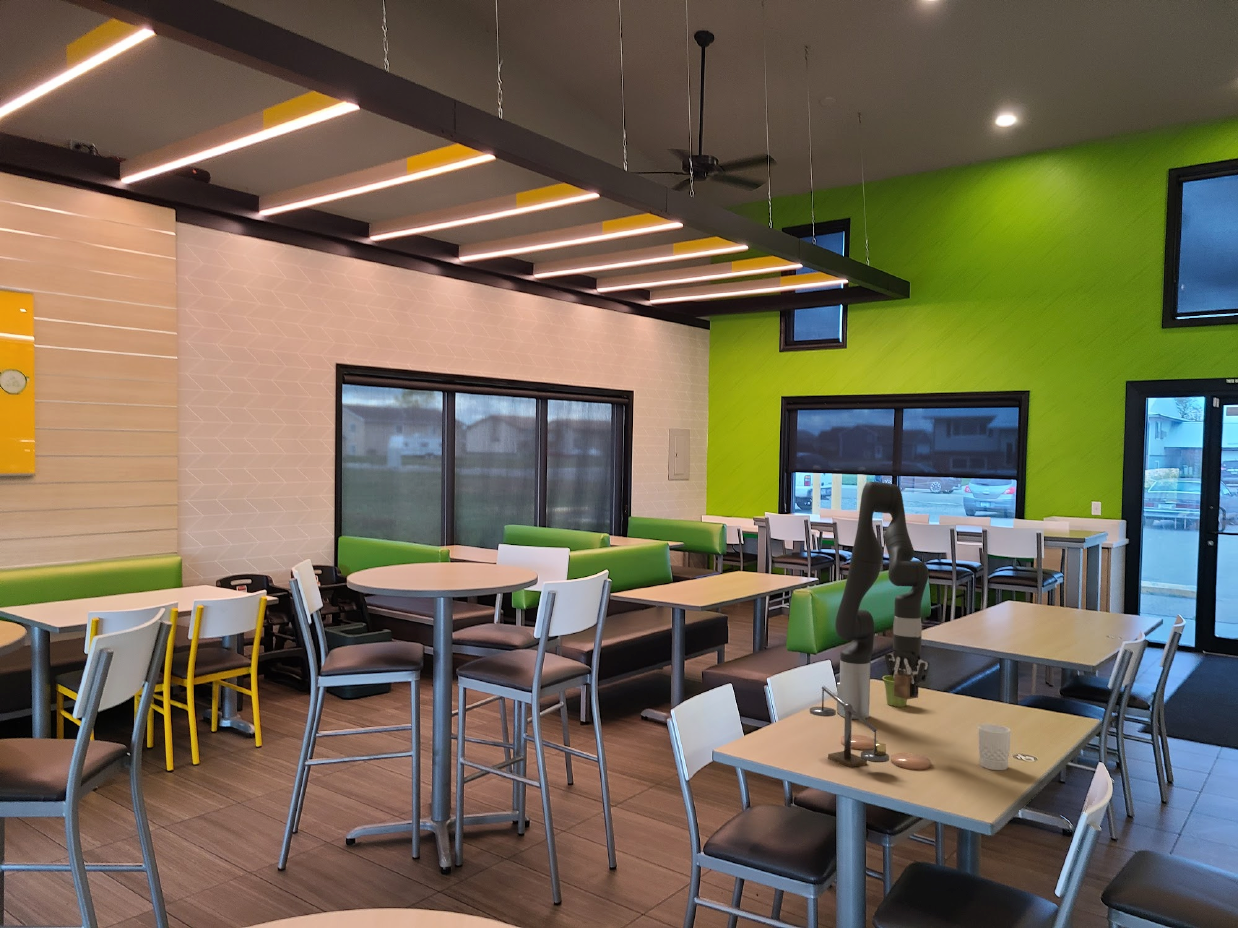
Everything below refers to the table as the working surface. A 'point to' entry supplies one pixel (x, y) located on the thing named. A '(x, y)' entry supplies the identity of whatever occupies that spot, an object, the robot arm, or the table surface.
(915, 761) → the dish right
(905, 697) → the walnut block
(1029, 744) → the table surface
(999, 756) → the white cup
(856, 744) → the dish left
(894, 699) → the plant pot
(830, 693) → the balance
